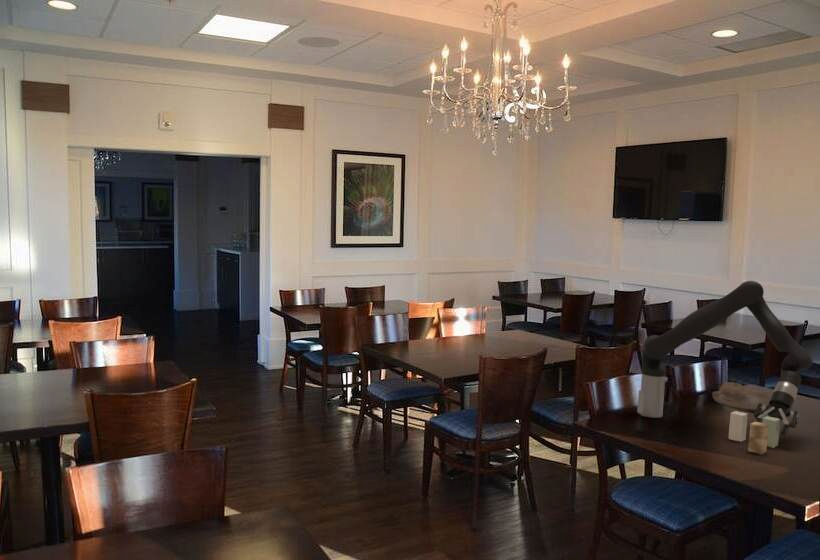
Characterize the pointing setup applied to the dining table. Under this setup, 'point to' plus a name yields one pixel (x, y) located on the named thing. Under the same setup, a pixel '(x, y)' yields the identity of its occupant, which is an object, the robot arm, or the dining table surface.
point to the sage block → (772, 430)
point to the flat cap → (740, 397)
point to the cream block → (738, 426)
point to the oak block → (758, 437)
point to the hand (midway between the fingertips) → (769, 431)
